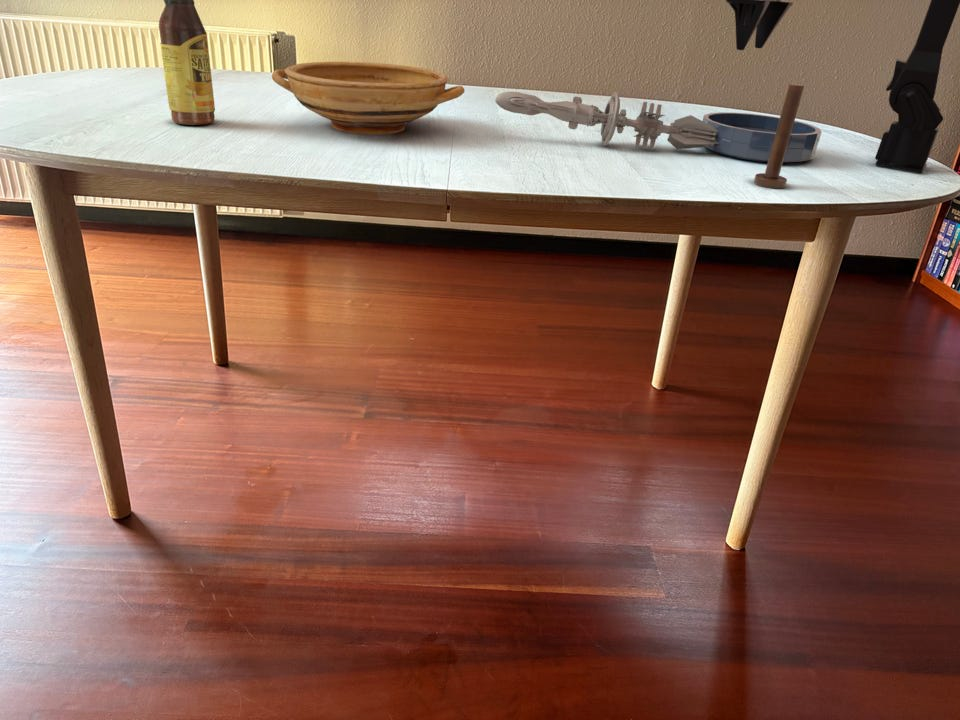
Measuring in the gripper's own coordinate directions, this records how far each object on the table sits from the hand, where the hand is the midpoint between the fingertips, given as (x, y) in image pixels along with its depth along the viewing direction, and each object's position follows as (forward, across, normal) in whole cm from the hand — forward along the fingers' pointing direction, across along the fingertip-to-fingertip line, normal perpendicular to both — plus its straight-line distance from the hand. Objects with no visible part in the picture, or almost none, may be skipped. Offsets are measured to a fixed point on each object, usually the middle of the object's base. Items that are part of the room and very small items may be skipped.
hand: (749, 49), depth 110 cm
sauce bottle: (+14, +64, -59) cm, 88 cm away
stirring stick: (+14, +26, +15) cm, 34 cm away
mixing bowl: (+14, +7, +6) cm, 17 cm away
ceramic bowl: (+14, +44, -42) cm, 63 cm away
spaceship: (+14, +24, -11) cm, 30 cm away
